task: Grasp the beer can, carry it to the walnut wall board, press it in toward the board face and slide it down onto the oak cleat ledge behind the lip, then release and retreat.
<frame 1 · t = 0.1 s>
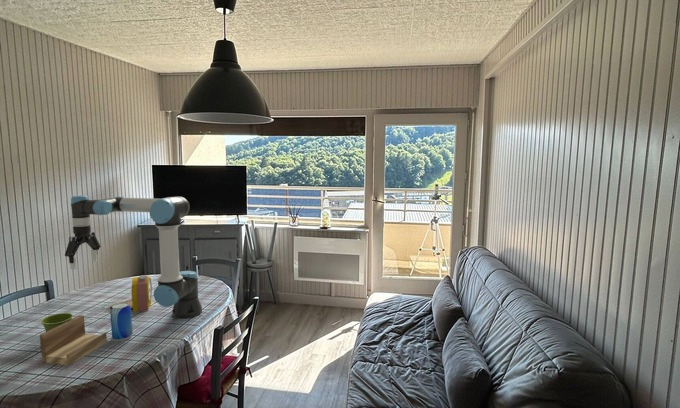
hand: (84, 265, 199), 28 cm above the table, fingers open, 13 cm apart
plant pot: (59, 341, 175), on the table
alarm clock: (143, 307, 215), on the table
cleat board: (65, 350, 166), on the table
beer can: (122, 338, 179), on the table
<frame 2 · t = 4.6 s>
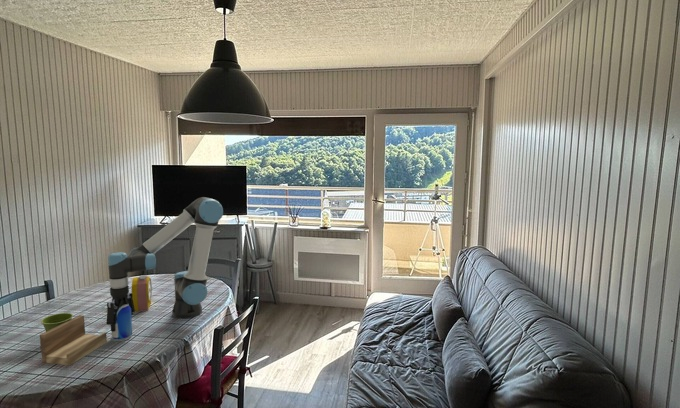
hand: (122, 332, 178), 3 cm above the table, fingers closed on beer can, 8 cm apart
beer can: (122, 338, 179), on the table, touching gripper
everything else where it was.
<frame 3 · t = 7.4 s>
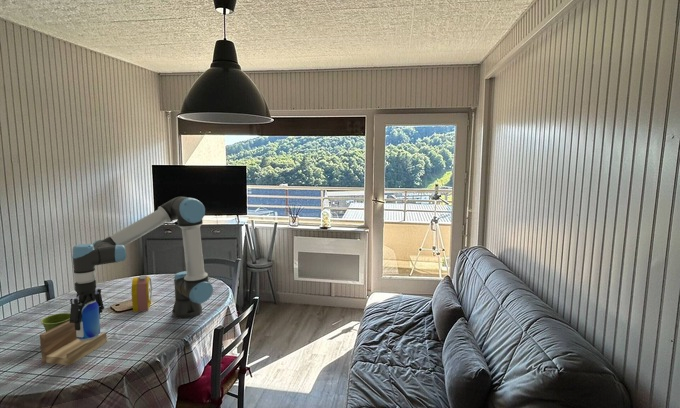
hand: (88, 331, 163), 10 cm above the table, fingers closed on beer can, 8 cm apart
beer can: (88, 337, 164), point 7 cm above the table, touching gripper
everything else where it was.
when the fingers open (6 cm above the table, at t = 10.2 s): beer can stays where it is, resting on cleat board.
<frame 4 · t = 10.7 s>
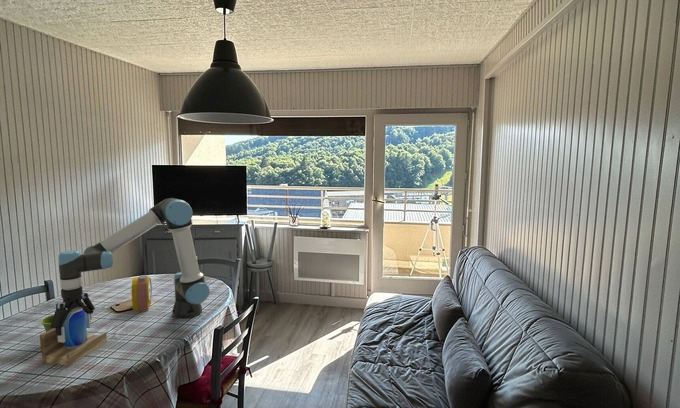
hand: (75, 334, 165), 8 cm above the table, fingers open, 13 cm apart
beer can: (76, 345, 165), point 3 cm above the table, touching cleat board
everything else where it was.
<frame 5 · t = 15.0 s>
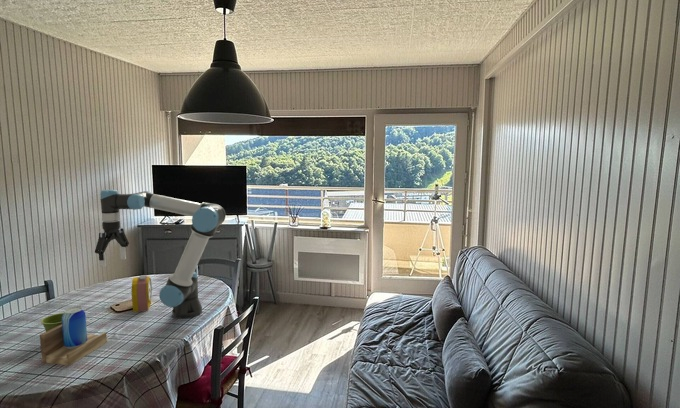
hand: (113, 262, 191), 32 cm above the table, fingers open, 13 cm apart
nothing on the table moved.
at the end: beer can inside the target area on the cleat board (0.2 cm from its centre), point 2.8 cm above the cleat board's base; beer can tilted 0°; the gripper is holding nothing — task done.
